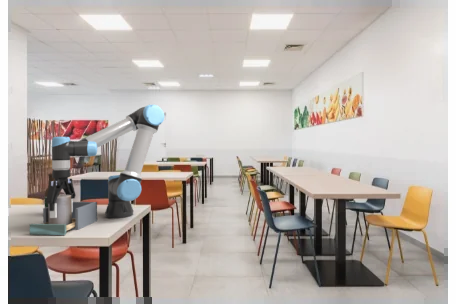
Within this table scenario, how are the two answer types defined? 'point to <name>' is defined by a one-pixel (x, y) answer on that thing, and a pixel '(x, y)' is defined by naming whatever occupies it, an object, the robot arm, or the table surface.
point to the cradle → (79, 214)
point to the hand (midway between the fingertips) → (61, 214)
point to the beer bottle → (48, 188)
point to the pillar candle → (62, 210)
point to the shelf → (51, 228)
